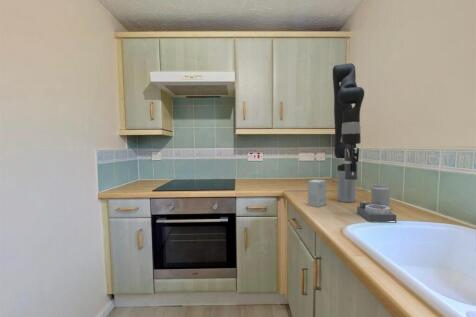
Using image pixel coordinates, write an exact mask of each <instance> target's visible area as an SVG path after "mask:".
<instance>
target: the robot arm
mask: <svg viewBox="0 0 476 317" xmlns="http://www.w3.org/2000/svg"><path fill="white" fill-rule="evenodd" d="M356 76H357V75H356V67H355V65H354V64H353V63H349V62H348V63H343V64H341V63H340V64H336V65H334V66H333V68H332V87H333V117H334V148H333V149H334V156H335V158H336V159H345V157H348V158H349V159H350V171H351V172H356V163H357V164H358V163H359V156H360V155H359V154H360V148H359V147H357V145H358V144H361V139H362V138H361V122H360V120H361V118H360V116H361V107H362V104H363V101H364V98H365V90H364V88H363V87H361V86H358V85H357V82H356V81H357V80H356V78H357V77H356ZM353 104H354V106H353ZM356 194H357V192H356V180H348V179H345V162H344V163H341V164H339V165H337V201H339V202H343V203H355V202H356V197H357V196H356Z"/></svg>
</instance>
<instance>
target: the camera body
mask: <svg viewBox="0 0 476 317" xmlns="http://www.w3.org/2000/svg"><path fill="white" fill-rule="evenodd" d="M356 209H357V210H356V211H357V212H356V213H357V214H358V215H359V216H361V217H362V218H363V219H365V220H366V221H367V222H369V221H396V222H397V214H395V213H393V212H392V211H391V207H388V206H384V205H382V204H381V203H379V202H372V201H371V202H367V201H366V200H362V201H360V202H359V205H357V206H356Z"/></svg>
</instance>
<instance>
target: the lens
mask: <svg viewBox="0 0 476 317" xmlns="http://www.w3.org/2000/svg"><path fill="white" fill-rule="evenodd" d="M344 163H345V179H348V180H355V181H356V180H358V162H357V163H356V172H351V171H350V159H349V158H348V157H345V158H344Z"/></svg>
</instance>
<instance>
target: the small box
mask: <svg viewBox="0 0 476 317" xmlns="http://www.w3.org/2000/svg"><path fill="white" fill-rule="evenodd" d="M307 192H308V193H307V197H308V200H307V202H308V204H307V205H308V206H309V207H315V208H320V207H323V206H325V205H327V180H324V179H313V180H309V181H307Z"/></svg>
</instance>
